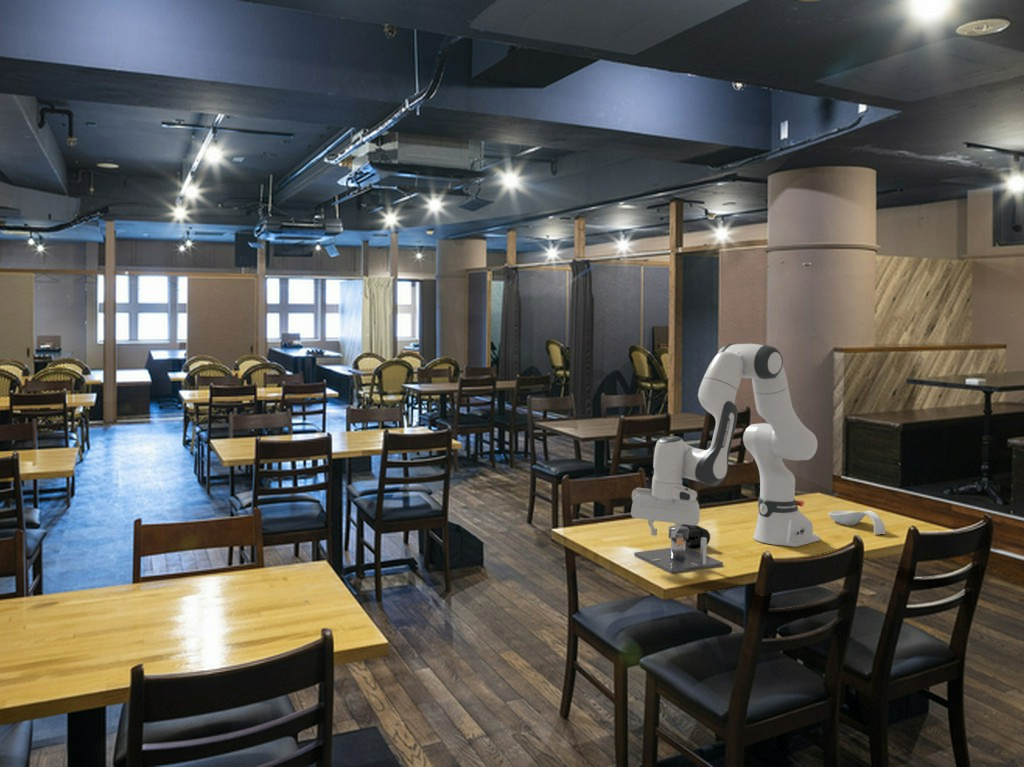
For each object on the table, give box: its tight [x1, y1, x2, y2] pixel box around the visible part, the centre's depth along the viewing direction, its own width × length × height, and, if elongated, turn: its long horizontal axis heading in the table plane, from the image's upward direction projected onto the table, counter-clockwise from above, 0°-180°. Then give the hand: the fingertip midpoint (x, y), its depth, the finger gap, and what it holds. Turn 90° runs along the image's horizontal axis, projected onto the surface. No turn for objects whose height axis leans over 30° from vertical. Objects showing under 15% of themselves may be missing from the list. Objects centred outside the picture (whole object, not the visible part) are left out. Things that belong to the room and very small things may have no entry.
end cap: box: [681, 524, 711, 550], centre depth 263 cm, size 10×7×7 cm
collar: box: [668, 525, 689, 545], centre depth 241 cm, size 14×6×3 cm, turn 171°
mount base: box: [633, 537, 724, 574], centre depth 245 cm, size 19×19×9 cm
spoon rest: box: [828, 510, 887, 534], centre depth 289 cm, size 24×12×7 cm, turn 18°
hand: (663, 536), depth 240 cm, fingers open, 5 cm apart
